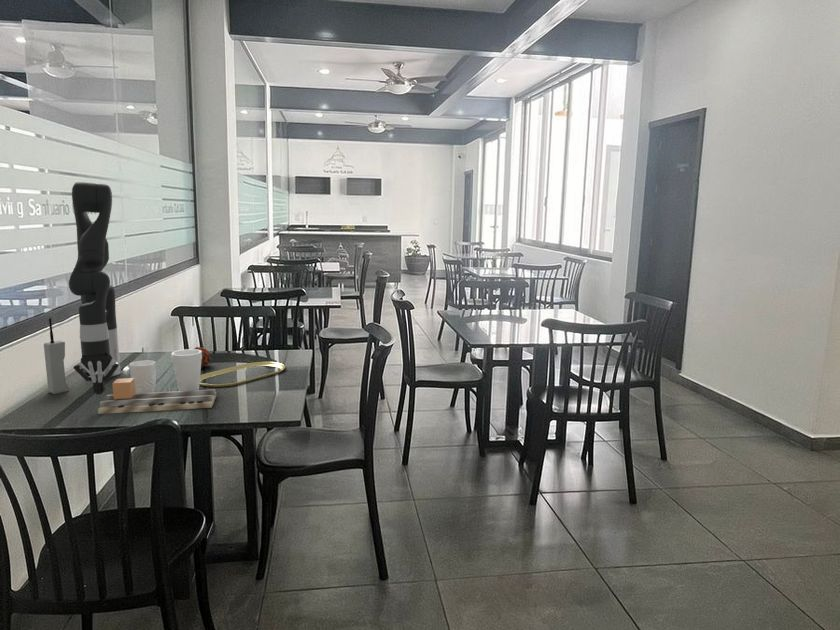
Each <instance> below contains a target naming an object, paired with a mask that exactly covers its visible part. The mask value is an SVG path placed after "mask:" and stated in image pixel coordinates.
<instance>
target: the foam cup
mask: <svg viewBox="0 0 840 630" xmlns="http://www.w3.org/2000/svg"><path fill="white" fill-rule="evenodd" d="M170 356H171V361H172V365H173V369H174V373H175V379H176V383H177V388H178V391H191V390H200V375H201V372H202V371H201V369H202V368H201V359H202V351H201V350H197V349H195V348H187V349H180V350H175V351H172V352H171V355H170Z"/></svg>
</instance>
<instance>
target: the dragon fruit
mask: <svg viewBox="0 0 840 630" xmlns="http://www.w3.org/2000/svg"><path fill="white" fill-rule="evenodd" d="M194 349H197V350H201V351H202V359H201V369H203V368H204V367H205V366H208V364H209V362H210V361H212V360H211V355H210V352H209V351H208V349H206V348H204V347H201V346H200V347H199V346H195V347H194Z"/></svg>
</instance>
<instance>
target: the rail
mask: <svg viewBox="0 0 840 630" xmlns="http://www.w3.org/2000/svg"><path fill="white" fill-rule="evenodd" d="M135 395H136V399H129V400H115V399H114V396H113V394H107V395H106V400H101V401H99V405H100V407H98V408H97V412H98V413H97V414H98V415H103V414H104V415H105V414H123V413H124V414H125V413H140V412H157V411H158V412H159V411H177V410H191V409H208V408H209V409H211V408H213V406H214V403H215V400H216V399H217V391H216V389H215V388H213V389H211V388H210V389H199V390H191V391H179V390H174V391H173V390H172V391H155V392H152V393H136V394H135Z"/></svg>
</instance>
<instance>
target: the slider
mask: <svg viewBox="0 0 840 630" xmlns="http://www.w3.org/2000/svg"><path fill="white" fill-rule="evenodd" d="M112 393H113V394H112V395H113V396H114V399H115V400H129V399H136V395H135V394H136V390H135V378H131V377H127V378H126V377H125V378H116V379H115V380H114V381H113V382H112Z"/></svg>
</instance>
